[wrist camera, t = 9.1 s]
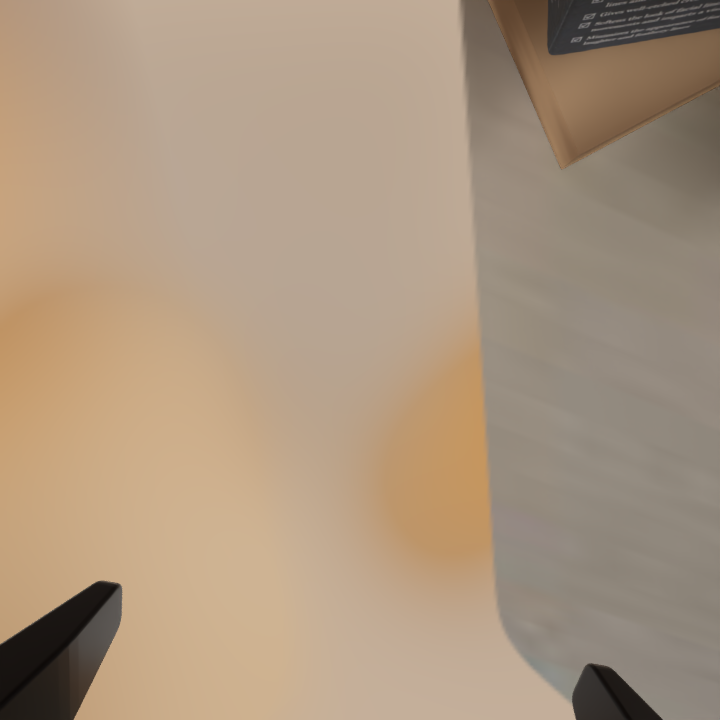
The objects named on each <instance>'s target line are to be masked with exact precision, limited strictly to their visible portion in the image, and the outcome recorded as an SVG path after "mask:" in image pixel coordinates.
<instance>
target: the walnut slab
mask: <svg viewBox="0 0 720 720" xmlns="http://www.w3.org/2000/svg"><path fill="white" fill-rule="evenodd" d="M488 2H489V4H490V6H491V9H492V11H493V13H494V16H495V18H496V20H497V23H498V25H499V27H500V29H501V32H502V34H503V36H504V39H505V41H506V43H507V46H508V48H509V50H510V52H511V55H512V57H513V59H514V62H515V64H516V66H517V69H518V71H519V73H520V75H521V78H522V80H523V82H524V85H525V87H526V89H527V92H528V94H529V96H530V98H531V101H532V103H533V105H534V108H535V110H536V112H537V115H538V117H539V119H540V121H541V124H542V126H543V128H544V131H545V133H546V135H547V138H548V140H549V142H550V145H551V147H552V149H553V151H554V154H555V156H556V158H557V161H558V163H559V165H560V168H561V170H562V169H564V168H566V167H568V166H569V165H571V164H573V163H575V162H577V161H579V160H581V159H583V158H584V157H586V156H588V155H590V154H592V153H594V152H596V151H598V150H599V149H601V148H603V147H605V146H607V145H609V144H611V143H613V142H614V141H616V140H618V139H620V138H622V137H624V136H626V135H628V134H629V133H631V132H633V131H635V130H637V129H639V128H641V127H643V126H644V125H646V124H648V123H650V122H652V121H654V120H656V119H658V118H659V117H661V116H663V115H665V114H667V113H669V112H671V111H673V110H674V109H676V108H678V107H680V106H682V105H684V104H686V103H688V102H689V101H691V100H693V99H695V98H697V97H699V96H701V95H703V94H704V93H706V92H708V91H710V90H712V89H714V88H716V87H718V86H720V28H718V29H712V30H706V31H701V32H695V33H689V34H683V35H676V36H670V37H665V38H659V39H652V40H648V41H641V42H636V43H630V44H623V45H618V46H610V47H605V48H598V49H592V50H587V51H582V52H575V53H569V54H563V55H550V54H549V52H548V47H547V28H548V0H488Z"/></svg>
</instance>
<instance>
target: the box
mask: <svg viewBox="0 0 720 720" xmlns="http://www.w3.org/2000/svg"><path fill="white" fill-rule="evenodd" d="M718 28H720V0H548V28H547V47H548V52H549V54H550V55H563V54H569V53H575V52H582V51H587V50H592V49H598V48H605V47H610V46H618V45H623V44H630V43H636V42H641V41H648V40H652V39H659V38H665V37H670V36H676V35H683V34H689V33H695V32H701V31H706V30H712V29H718Z"/></svg>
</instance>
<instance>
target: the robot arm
mask: <svg viewBox="0 0 720 720" xmlns="http://www.w3.org/2000/svg"><path fill="white" fill-rule="evenodd" d="M121 615H122V586H121V585H120V584H118V583H114V582H108V581H98V582H96V583H94V584H92V585H91V586H89V587H87V588H86V589H85V590H83V591H81V592H80V593H78V594H77V595H75V596H74V597H72V598H71V599H69V600H67V601H66V602H64V603H63V604H61V605H60V606H59V607H57V608H55V609H54V610H52V611H51V612H49V613H48V614H46V615H44V616H43V617H41V618H40V619H38V620H37V621H35V622H34V623H32V624H31V625H29V626H28V627H26V628H24V629H23V630H21V631H20V632H18V633H17V634H15V635H14V636H12V637H11V638H9V639H8V640H6V641H4V642H3V643H1V644H0V720H74V718H75V716H76V713H77V712H78V710H79V708H80V706H81V704H82V702H83V699H84V697H85V695H86V693H87V691H88V689H89V687H90V685H91V683H92V681H93V679H94V677H95V675H96V673H97V671H98V669H99V667H100V665H101V663H102V661H103V659H104V657H105V655H106V653H107V651H108V649H109V647H110V644H111V643H112V640H113V638H114V636H115V634H116V632H117V630H118V628H119V625H120V621H121ZM572 703H573V709H574V713H575V717H576V720H663V719H662V718H661V717H660V716H659V715H658V714H657V713H656V712H655V711H654V710H653V709H652V708H651V707H650V706H649V705H648V704H647V703H646V702H645V701H644V700H643V699H642V698H641V697H640V696H639V695H638V694H637V693H636V692H635V691H634V690H633V689H632V688H631V687H630V686H629V685H628V684H627V683H626V682H625V681H624V680H623V679H622V678H621V677H620V676H619V675H618V674H617V673H616V672H615V671H614V670H613V669H611V668H610V667H608V666H603V665H598V664H592V663H591V664H587V665H586V666H585V667H584V669H583V671H582V674H581V676H580V678H579V680H578V682H577V684H576V687H575V689H574V691H573V696H572Z"/></svg>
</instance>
